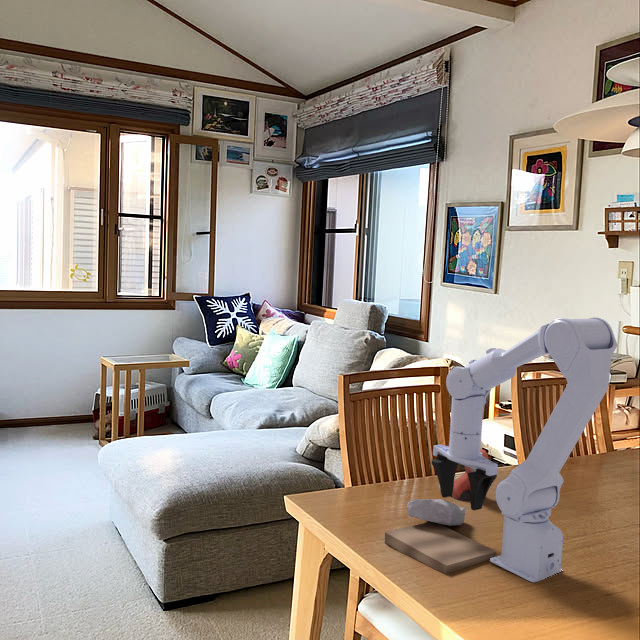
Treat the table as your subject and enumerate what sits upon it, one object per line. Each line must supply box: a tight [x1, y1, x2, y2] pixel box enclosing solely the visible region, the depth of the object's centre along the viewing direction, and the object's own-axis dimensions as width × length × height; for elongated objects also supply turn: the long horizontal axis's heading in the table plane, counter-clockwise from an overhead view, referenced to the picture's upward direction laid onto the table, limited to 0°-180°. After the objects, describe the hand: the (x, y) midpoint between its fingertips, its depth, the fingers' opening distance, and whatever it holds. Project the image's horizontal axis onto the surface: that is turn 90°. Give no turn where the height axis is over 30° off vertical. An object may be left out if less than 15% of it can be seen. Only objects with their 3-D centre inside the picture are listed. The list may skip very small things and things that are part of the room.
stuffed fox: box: [437, 448, 489, 502], centre depth 158 cm, size 8×11×12 cm
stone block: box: [406, 498, 467, 527], centre depth 139 cm, size 12×5×10 cm
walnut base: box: [384, 521, 497, 575], centre depth 128 cm, size 16×12×2 cm
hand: (461, 502), depth 133 cm, fingers open, 7 cm apart
